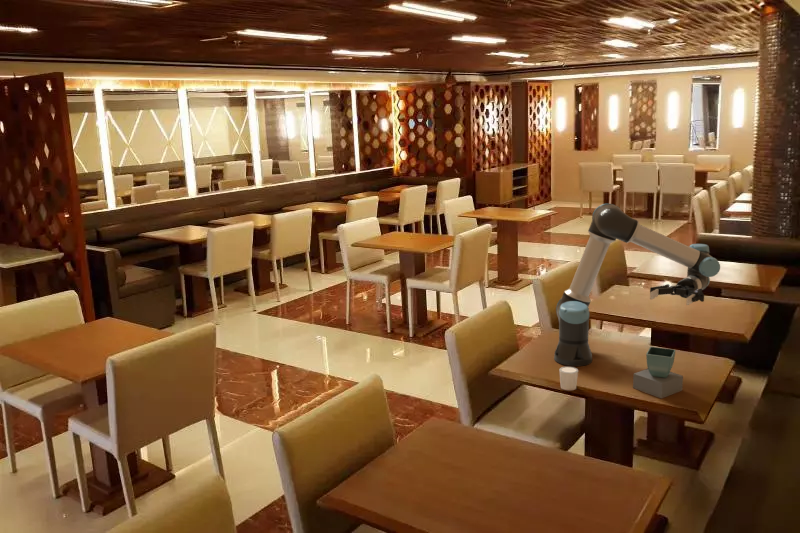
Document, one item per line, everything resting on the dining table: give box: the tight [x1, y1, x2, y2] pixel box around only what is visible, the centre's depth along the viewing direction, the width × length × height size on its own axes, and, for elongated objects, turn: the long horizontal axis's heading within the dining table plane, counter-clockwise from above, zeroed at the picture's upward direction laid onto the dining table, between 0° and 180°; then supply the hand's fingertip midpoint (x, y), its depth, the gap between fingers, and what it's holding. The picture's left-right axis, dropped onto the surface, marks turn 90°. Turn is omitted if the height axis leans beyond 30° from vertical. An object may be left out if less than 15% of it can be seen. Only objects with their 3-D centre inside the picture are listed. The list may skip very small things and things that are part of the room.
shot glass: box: [558, 366, 579, 391], centre depth 247 cm, size 7×7×7 cm
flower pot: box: [645, 346, 676, 378], centre depth 241 cm, size 9×9×9 cm
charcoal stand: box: [632, 368, 684, 399], centre depth 243 cm, size 12×12×6 cm
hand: (668, 298), depth 251 cm, fingers open, 13 cm apart
